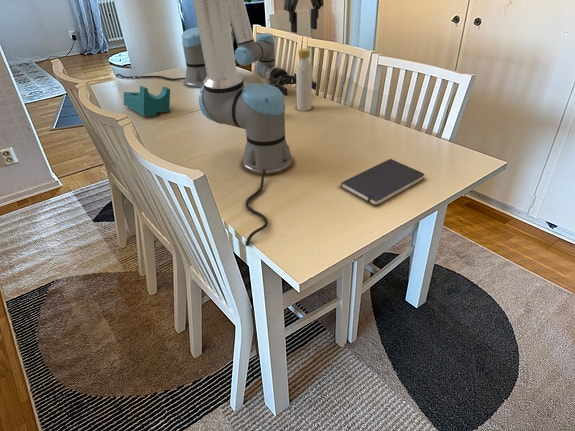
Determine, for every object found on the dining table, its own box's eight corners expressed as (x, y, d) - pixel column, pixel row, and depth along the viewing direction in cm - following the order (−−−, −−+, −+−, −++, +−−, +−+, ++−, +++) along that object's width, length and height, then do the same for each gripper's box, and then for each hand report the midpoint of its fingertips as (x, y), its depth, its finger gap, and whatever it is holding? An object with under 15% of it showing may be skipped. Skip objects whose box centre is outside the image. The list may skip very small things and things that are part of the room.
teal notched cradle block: (169, 115, 164) (170, 89, 159) (143, 115, 156) (144, 88, 152) (148, 104, 174) (148, 79, 170) (123, 104, 167) (123, 78, 163)
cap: (309, 55, 153) (309, 48, 152) (309, 58, 150) (309, 51, 148) (299, 55, 153) (299, 48, 152) (298, 58, 150) (298, 51, 149)
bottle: (311, 105, 166) (312, 49, 153) (311, 110, 161) (311, 53, 148) (297, 105, 166) (296, 49, 153) (296, 110, 161) (295, 53, 148)
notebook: (389, 163, 124) (340, 187, 113) (390, 158, 123) (341, 182, 112) (424, 178, 116) (375, 206, 105) (425, 174, 115) (376, 201, 104)
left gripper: (301, 79, 185) (326, 93, 170) (251, 89, 176) (273, 104, 161) (301, 62, 181) (327, 74, 166) (250, 72, 171) (273, 85, 156)
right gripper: (283, -42, 126) (285, 36, 139) (336, -46, 135) (333, 28, 148) (271, -43, 131) (274, 32, 144) (322, -47, 140) (320, 25, 153)
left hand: (301, 89), depth 163 cm, fingers open, 13 cm apart
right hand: (304, 30), depth 146 cm, fingers open, 8 cm apart
